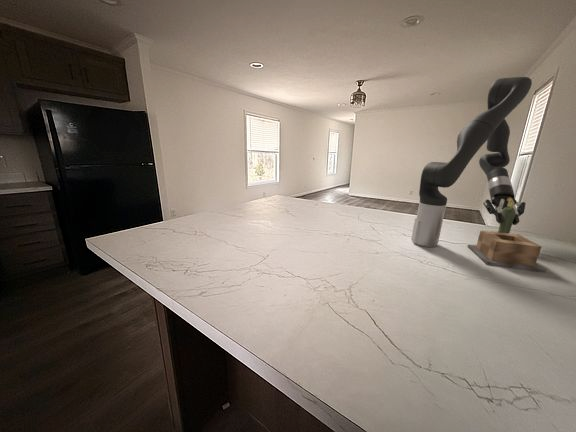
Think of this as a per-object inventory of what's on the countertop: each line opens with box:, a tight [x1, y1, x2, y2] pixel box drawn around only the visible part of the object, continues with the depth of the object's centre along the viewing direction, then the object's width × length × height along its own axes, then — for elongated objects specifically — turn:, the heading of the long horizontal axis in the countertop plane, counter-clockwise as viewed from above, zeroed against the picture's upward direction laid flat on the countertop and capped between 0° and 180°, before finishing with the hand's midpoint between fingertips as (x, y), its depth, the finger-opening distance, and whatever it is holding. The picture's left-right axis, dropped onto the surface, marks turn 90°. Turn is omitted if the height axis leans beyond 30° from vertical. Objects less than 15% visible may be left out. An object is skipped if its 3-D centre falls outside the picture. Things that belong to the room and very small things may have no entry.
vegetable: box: [497, 197, 515, 234], centre depth 94 cm, size 4×4×20 cm
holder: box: [467, 230, 547, 274], centre depth 82 cm, size 16×16×8 cm
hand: (508, 223), depth 92 cm, fingers closed on vegetable, 4 cm apart
